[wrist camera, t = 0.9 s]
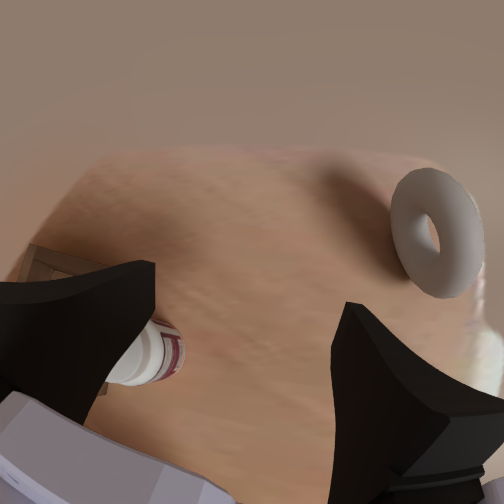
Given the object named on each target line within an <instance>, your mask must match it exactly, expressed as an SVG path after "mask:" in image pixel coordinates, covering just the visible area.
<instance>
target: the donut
mask: <svg viewBox="0 0 504 504" xmlns="http://www.w3.org/2000/svg"><path fill="white" fill-rule="evenodd" d="M428 216H429V217H430V219H431V220H432V222H433V224H434V225H435V228H436V230H437V233H438V236H439V242H440V252H439V251H438V250H437V249H436V247H435V245H434V243H433V241H432V239H431V236H430V233H429V228H428ZM390 223H391V231H392V236H393V241H394V245H395V248H396V251H397V254H398V257H399V259H400V261H401V263H402V265H403V267H404V269H405V271H406V273H407V274H408V276H409V277H410V278H411V280H412V281H413V283H414V284H416V285H417V286H418V287H419V288H420V289H421V290H422V291H423V292H425V293H426V294H428V295H431V296H433V297H435V298H439V299H446V298H454V297H458V296H459V295H460V294H462V293H463V292H464V291H466V290H467V289H468V288H470V287H471V286H472V285H473V283H474V281H475V279H476V277H477V275H478V273H479V271H480V269H481V267H482V261H483V255H484V248H485V247H484V236H483V228H482V223H481V220H480V217H479V215H478V212H477V209H476V206H475V204H474V202H473V201H472V199H471V198H470V196H469V195H468V193H467V192H466V190H465V189H464V187H463V186H462V185H461V184H460V183H459V182H457V181H456V180H455V179H454V178H453V177H452V176H450V175H449V174H447V173H445V172H442V171H439V170H436V169H433V168H422V169H417V170H413V171H411V172H409V173H408V174H407V175H406V176H405V177H404V178H403V179H402V180H401V181H400V182H399V183H398V185H397V187H396V189H395V192H394V194H393V197H392V201H391V208H390Z"/></svg>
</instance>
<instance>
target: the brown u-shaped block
mask: <svg viewBox="0 0 504 504" xmlns="http://www.w3.org/2000/svg"><path fill="white" fill-rule="evenodd" d="M109 267H111V266H107V265H103V264H100V263H96V262H92V261H89V260H85V259H81V258H78V257H74V256H71V255H67V254H64V253H60V252H57V251H53V250H50V249H46V248H43V247H40V246H36V245H33V244H29V247H28V250H27V252H26V255H25V258H24V262H23V265H22V268H21V271H20V274H19V278H18V281H17V282H37V281H49V280H51V278H52V275H53V271H54V269H55V270H58V271H61V272H64V273H67V274H70V275H73V276H78V275H82V274H86V273H90V272H94V271H98V270H102V269H105V268H109ZM107 387H108V382H106V381H105V382H104V384H103V385H102V387H101V389H100V391H99V393H98V395H97V396H101V395H106V393H107Z"/></svg>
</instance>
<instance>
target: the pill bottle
mask: <svg viewBox="0 0 504 504" xmlns="http://www.w3.org/2000/svg"><path fill="white" fill-rule="evenodd" d="M185 354H186V349H185V344H184V341H183V338H182V337H181V335H180V333H179V332H178V331H177V330H176V329H175V328H174V327H172V326H171V325H169V324H167V323H165V322H162V321H159V320H156V319H153V318H150V319H149V321H148V323H147V324H146V326H145V328H144V329H143V330H142V332H141V333H140V334H139V336H138V337H137V338H136V339H135V341H134V342H133V343H132V344H131V346H130V347H129V348H128V349H127V351H126V352H125V353H124V354H123V356H122V357H121V358H120V360H119V361H118V362H117V363H116V365H115V366H114V368H113V369H112V370H111V372H110V373H109V375H108V377H107V379H106V380H105V381H106V382H110V383H119V384H122V385H126V386H138V385H142V384H147V383H151V382H155V381H159V380H163V379H166V378H169V377H171V376H173V375H174V374H176V373H177V372H178V371H179V370H180V368H181V367H182V365H183V363H184V360H185Z"/></svg>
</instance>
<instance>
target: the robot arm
mask: <svg viewBox="0 0 504 504" xmlns="http://www.w3.org/2000/svg"><path fill="white" fill-rule="evenodd" d="M154 310H155V263H153V262H149V261H144V260H137V261H131V262H127V263H123V264H120V265H116V266H112V267H109V268H105V269H102V270H98V271H94V272H90V273H86V274H82V275H78V276H73V277H68V278H63V279H56V280H49V281H37V282H0V504H241V503H236V502H234V500H233V498H232V496H231V495H230V494H229V493H228V492H227V491H226V490H225V489H223V488H221V487H220V486H218V485H217V484H215V483H213V482H212V481H210V480H209V479H207V478H206V477H204V476H202V475H200V474H197V473H194V472H192V471H189V470H187V469H184V468H182V467H179V466H177V465H175V464H172V463H170V462H168V461H165V460H162V459H159V458H156V457H153V456H150V455H148V454H145V453H142V452H140V451H137V450H135V449H132V448H130V447H127V446H125V445H122V444H120V443H118V442H115V441H113V440H111V439H109V438H106V437H104V436H102V435H100V434H98V433H96V432H94V431H92V430H90V429H88V428H86V427H84V426H83V424H84V422H85V419H86V417H87V415H88V413H89V410H90V408H91V406H92V404H93V402H94V400H95V398H96V397H97V395H98V393H99V391H100V389H101V387H102V385H103V384H104V382H105V380H106V379H107V377H108V375H109V373H110V372H111V370H112V369H113V368H114V366H115V365H116V363H117V362H118V361H119V360H120V358H121V357H122V356H123V354H124V353H125V352H126V351H127V349H128V348H129V347H130V346H131V344H132V343H133V342H134V341H135V339H136V338H137V337H138V336H139V334H140V333H141V332H142V330H143V329H144V328H145V326H146V324H147V323H148V321H149V319H150V318H151V316H152V314H153V312H154ZM330 369H331V379H332V388H333V397H334V407H335V420H336V432H335V450H334V461H333V471H332V479H331V486H330V493H329V499H328V504H504V477H501V478H498V479H495V480H492V481H489V482H487V483H486V484H484V485H482V486H481V483H480V479H479V478H481V477H482V476H483V475H484V473H485V471H484V468H483V465H482V464H483V463H484V462H485V461H486V460H487V459H488V458H489V457H490V456H491V455H492V454H493V453H494V452H495V451H496V450H497V449H498V448H499V447H500V446H501V445H502V444H503V442H504V400H503V399H501V398H498V397H495V396H492V395H489V394H486V393H484V392H481V391H478V390H476V389H474V388H471V387H469V386H467V385H465V384H463V383H461V382H459V381H457V380H455V379H453V378H451V377H449V376H448V375H446V374H444V373H443V372H441V371H439V370H438V369H436V368H435V367H433V366H432V365H430V364H429V363H427V362H426V361H425V360H423V359H422V358H421V357H419V356H418V355H416V354H415V353H414V352H413V351H411V350H410V349H409V348H408V347H407V346H406V345H405V344H403V343H402V342H401V341H400V340H399V339H398V338H397V337H396V336H395V335H394V334H392V333H391V332H390V331H389V330H388V329H387V328H386V327H385V326H384V325H383V324H382V323H381V322H380V321H379V320H378V319H377V318H376V317H375V316H374V315H373V314H372V313H371V312H370V311H369V310H368V309H367V308H366V307H365V306H364V305H362V304H358V303H352V302H346V304H345V307H344V310H343V313H342V316H341V319H340V322H339V325H338V328H337V331H336V334H335V337H334V340H333V342H332V345H331V367H330Z"/></svg>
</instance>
